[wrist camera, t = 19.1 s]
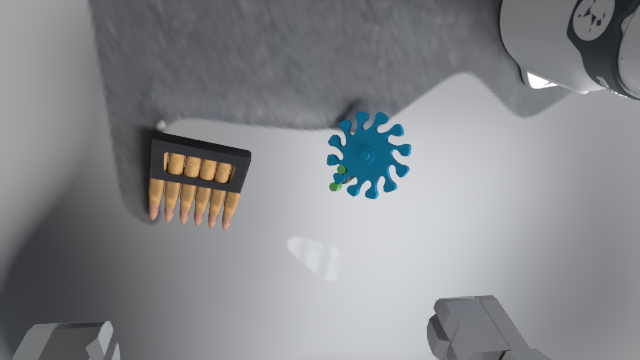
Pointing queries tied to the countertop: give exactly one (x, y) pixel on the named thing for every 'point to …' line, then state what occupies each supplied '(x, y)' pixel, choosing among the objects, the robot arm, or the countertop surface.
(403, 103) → the countertop surface
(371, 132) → the gear
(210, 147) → the ammunition clip
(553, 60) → the robot arm
